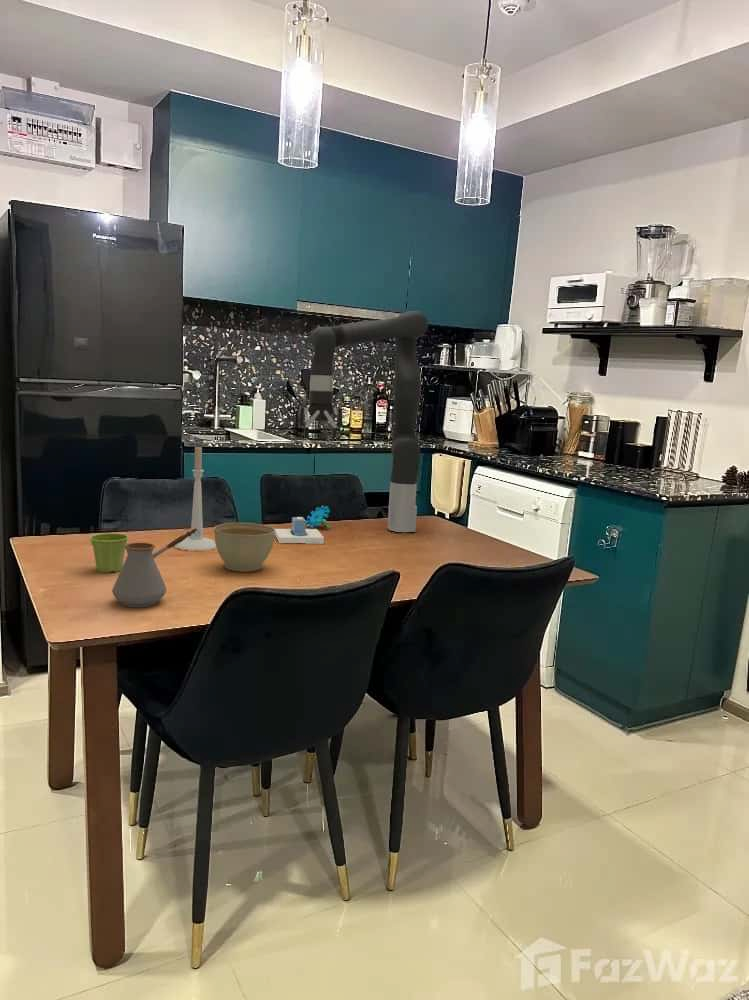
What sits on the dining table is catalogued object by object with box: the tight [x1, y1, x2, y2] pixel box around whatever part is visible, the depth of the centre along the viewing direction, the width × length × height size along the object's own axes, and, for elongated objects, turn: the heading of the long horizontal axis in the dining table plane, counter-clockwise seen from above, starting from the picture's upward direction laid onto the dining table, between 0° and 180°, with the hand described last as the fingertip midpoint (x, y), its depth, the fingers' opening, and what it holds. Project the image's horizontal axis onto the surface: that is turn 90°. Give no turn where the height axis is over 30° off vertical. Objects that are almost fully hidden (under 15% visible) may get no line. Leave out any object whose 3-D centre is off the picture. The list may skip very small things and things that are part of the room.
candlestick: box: [175, 445, 216, 550], centre depth 216 cm, size 13×13×30 cm
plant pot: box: [89, 532, 129, 573], centre depth 187 cm, size 9×9×9 cm
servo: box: [290, 516, 307, 536], centre depth 236 cm, size 4×9×7 cm, turn 14°
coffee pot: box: [111, 528, 200, 608], centre depth 166 cm, size 21×12×15 cm, turn 140°
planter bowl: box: [213, 522, 276, 573], centre depth 196 cm, size 16×16×11 cm
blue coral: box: [306, 505, 331, 529], centre depth 257 cm, size 11×6×10 cm
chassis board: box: [274, 528, 325, 545], centre depth 236 cm, size 14×13×2 cm
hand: (319, 439), depth 243 cm, fingers open, 8 cm apart
